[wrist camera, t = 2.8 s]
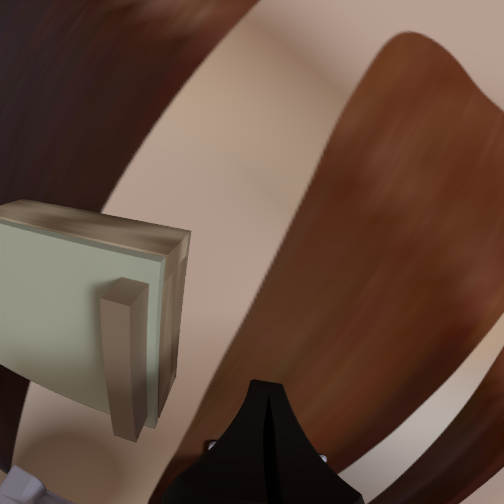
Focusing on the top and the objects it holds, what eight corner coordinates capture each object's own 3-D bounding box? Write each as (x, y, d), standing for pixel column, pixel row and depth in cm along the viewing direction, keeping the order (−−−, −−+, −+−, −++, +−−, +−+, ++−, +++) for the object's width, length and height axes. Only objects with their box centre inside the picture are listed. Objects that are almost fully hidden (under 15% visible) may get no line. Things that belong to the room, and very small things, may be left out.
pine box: (191, 230, 17) (167, 254, 13) (176, 376, 20) (159, 418, 16) (23, 198, 17) (-19, 212, 13) (33, 328, 20) (3, 355, 16)
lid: (165, 257, 12) (141, 282, 10) (157, 421, 16) (144, 455, 13) (-23, 213, 12) (-55, 224, 10) (1, 357, 16) (-20, 377, 13)
